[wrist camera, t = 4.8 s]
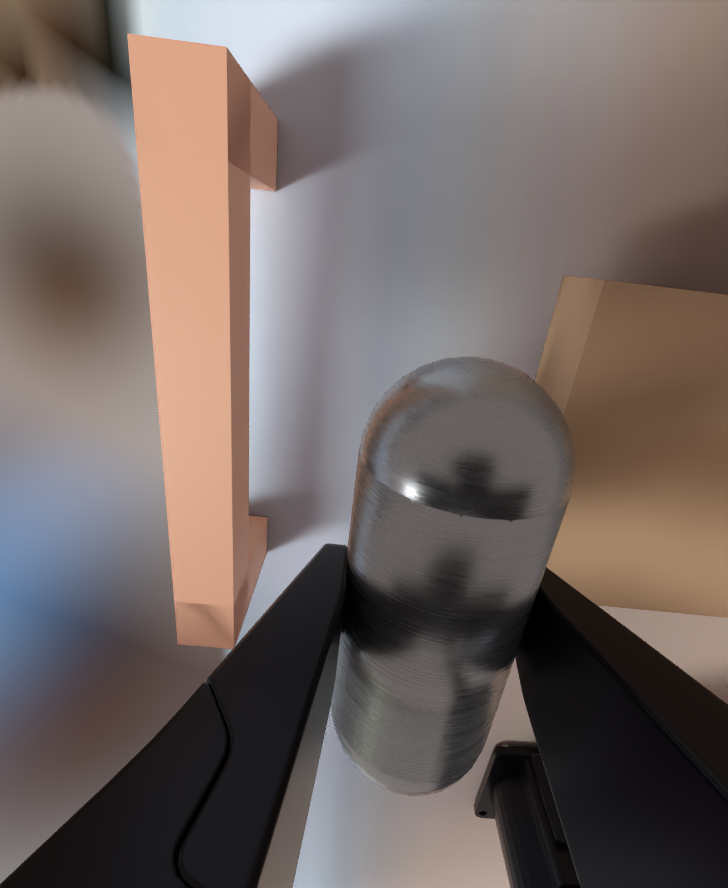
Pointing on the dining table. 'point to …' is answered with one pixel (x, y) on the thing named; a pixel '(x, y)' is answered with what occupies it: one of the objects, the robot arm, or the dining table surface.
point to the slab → (643, 443)
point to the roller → (444, 565)
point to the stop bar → (202, 314)
